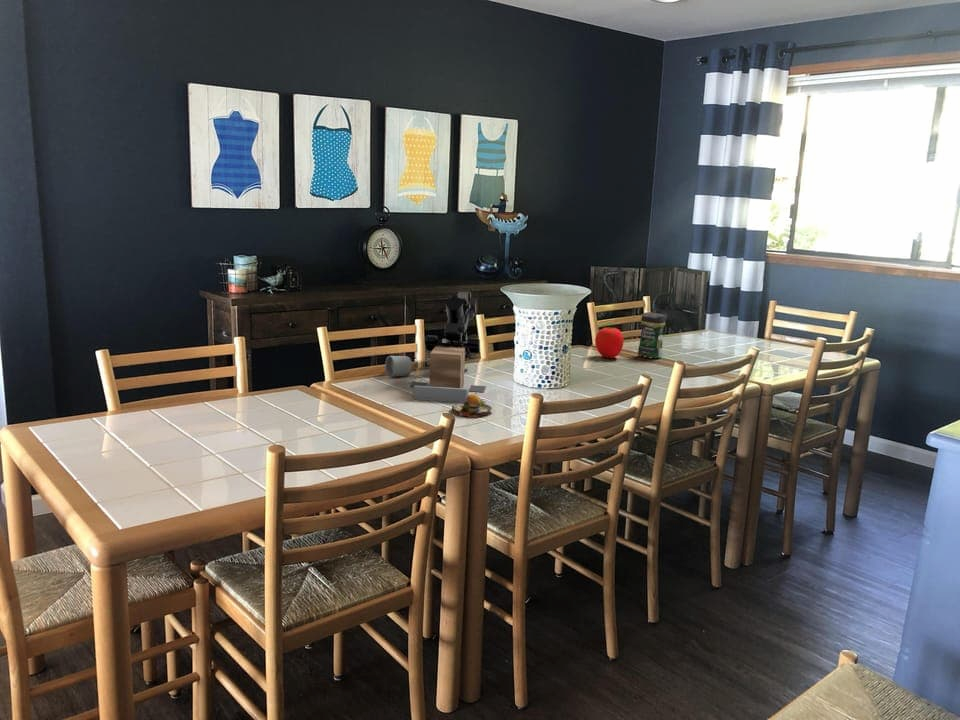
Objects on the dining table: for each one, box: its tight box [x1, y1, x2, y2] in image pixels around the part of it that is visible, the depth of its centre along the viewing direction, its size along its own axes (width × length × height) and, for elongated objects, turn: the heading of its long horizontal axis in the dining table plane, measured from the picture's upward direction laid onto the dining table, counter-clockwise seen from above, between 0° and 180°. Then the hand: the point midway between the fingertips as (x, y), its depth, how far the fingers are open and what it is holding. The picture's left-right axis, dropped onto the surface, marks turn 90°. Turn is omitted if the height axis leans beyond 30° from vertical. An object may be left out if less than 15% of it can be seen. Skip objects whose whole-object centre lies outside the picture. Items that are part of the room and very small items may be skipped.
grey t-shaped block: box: [413, 385, 470, 403], centre depth 246 cm, size 8×16×4 cm, turn 85°
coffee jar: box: [637, 311, 666, 359], centre depth 322 cm, size 10×8×19 cm
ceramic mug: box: [384, 355, 414, 378], centre depth 273 cm, size 10×8×7 cm
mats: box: [408, 381, 487, 393], centre depth 259 cm, size 8×25×1 cm, turn 85°
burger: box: [451, 392, 493, 419], centre depth 230 cm, size 12×12×8 cm
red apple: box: [594, 326, 625, 359], centre depth 317 cm, size 11×11×13 cm
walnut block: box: [428, 346, 466, 388], centre depth 256 cm, size 12×10×13 cm
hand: (449, 364), depth 262 cm, fingers closed
